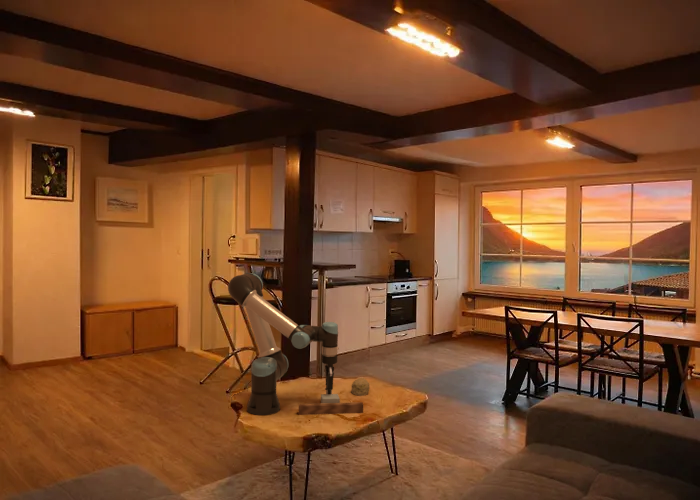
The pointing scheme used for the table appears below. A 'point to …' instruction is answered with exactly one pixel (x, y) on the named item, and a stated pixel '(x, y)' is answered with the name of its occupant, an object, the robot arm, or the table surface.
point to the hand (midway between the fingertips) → (328, 401)
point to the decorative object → (360, 387)
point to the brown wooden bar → (330, 408)
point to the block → (330, 398)
